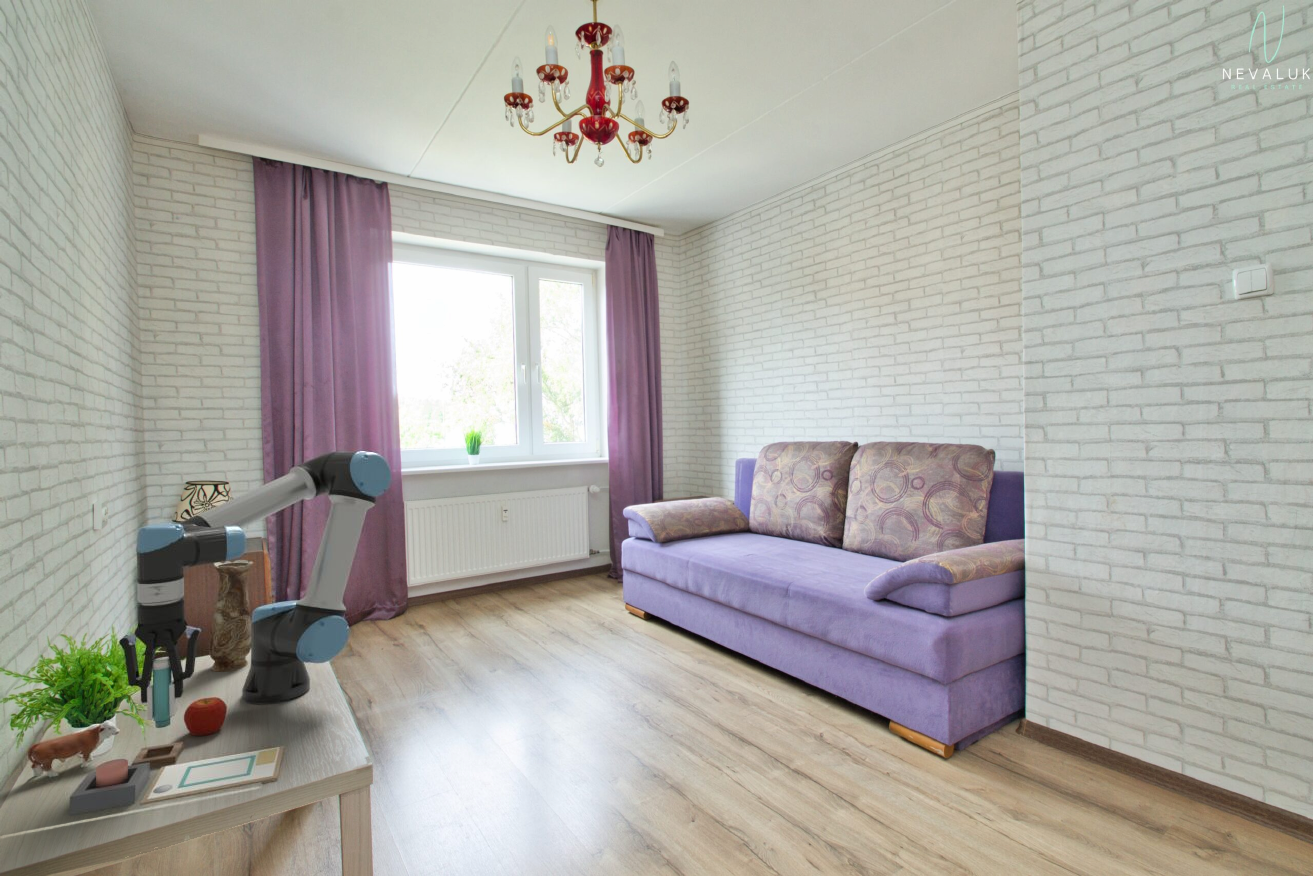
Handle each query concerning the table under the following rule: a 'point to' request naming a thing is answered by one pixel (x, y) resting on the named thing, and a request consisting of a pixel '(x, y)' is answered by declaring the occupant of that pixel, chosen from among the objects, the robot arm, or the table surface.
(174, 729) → the table surface
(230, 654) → the vase
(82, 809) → the button housing
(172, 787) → the colouring sheet
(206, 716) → the apple
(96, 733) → the bull figurine
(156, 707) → the marker
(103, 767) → the button
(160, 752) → the marker holder
